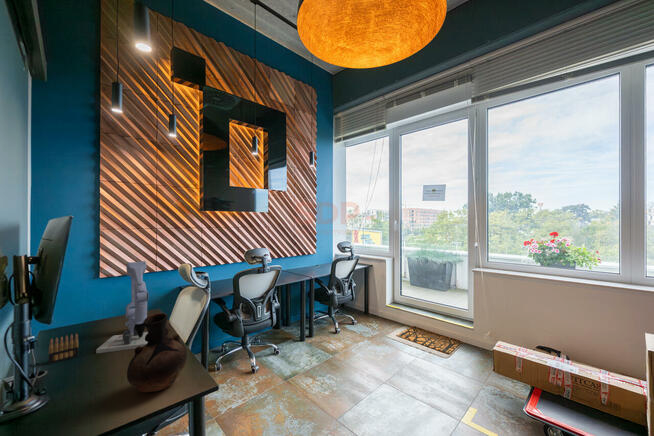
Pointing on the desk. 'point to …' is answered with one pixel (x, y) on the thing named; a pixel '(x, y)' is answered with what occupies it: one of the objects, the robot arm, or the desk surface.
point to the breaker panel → (122, 343)
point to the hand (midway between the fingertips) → (140, 336)
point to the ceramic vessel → (157, 357)
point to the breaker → (127, 338)
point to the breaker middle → (126, 333)
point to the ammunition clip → (63, 349)
